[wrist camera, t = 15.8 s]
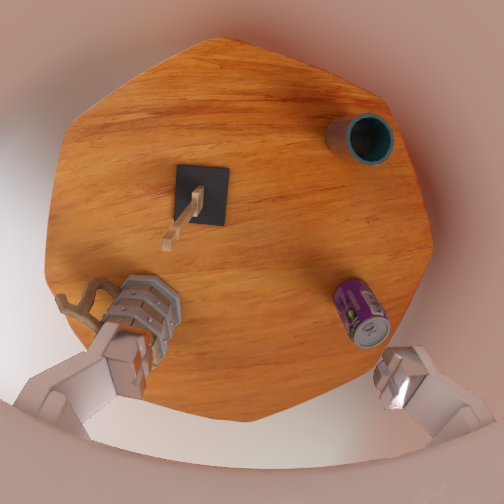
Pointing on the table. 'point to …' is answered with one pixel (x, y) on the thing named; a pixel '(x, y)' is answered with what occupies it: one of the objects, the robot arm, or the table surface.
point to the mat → (213, 192)
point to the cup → (360, 138)
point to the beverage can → (361, 314)
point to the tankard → (132, 308)
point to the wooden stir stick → (183, 219)
